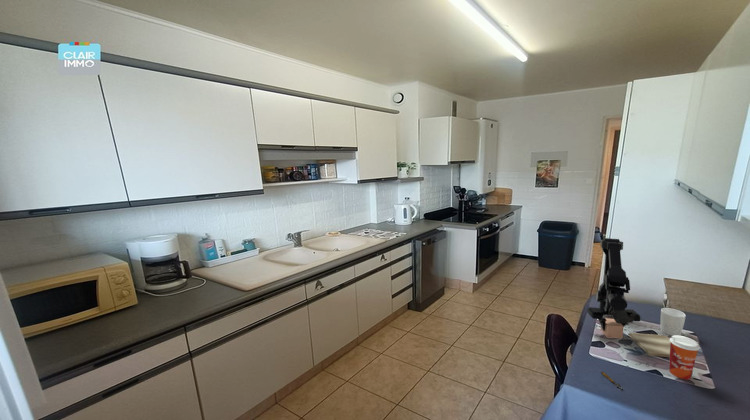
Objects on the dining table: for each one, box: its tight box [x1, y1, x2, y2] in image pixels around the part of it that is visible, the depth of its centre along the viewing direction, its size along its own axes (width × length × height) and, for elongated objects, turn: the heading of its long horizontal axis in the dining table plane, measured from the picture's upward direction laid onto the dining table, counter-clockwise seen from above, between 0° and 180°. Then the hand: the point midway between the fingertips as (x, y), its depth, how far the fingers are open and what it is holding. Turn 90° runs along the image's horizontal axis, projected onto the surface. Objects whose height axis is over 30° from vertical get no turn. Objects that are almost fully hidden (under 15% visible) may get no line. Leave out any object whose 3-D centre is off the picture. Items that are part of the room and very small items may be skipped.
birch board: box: [628, 332, 671, 358], centre depth 126 cm, size 14×14×1 cm
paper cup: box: [668, 335, 701, 380], centre depth 109 cm, size 8×8×14 cm
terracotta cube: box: [599, 317, 625, 339], centre depth 135 cm, size 6×6×6 cm
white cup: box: [659, 307, 686, 337], centre depth 134 cm, size 8×8×10 cm
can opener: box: [600, 371, 624, 391], centre depth 108 cm, size 9×2×1 cm, turn 0°
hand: (611, 330), depth 135 cm, fingers closed on terracotta cube, 6 cm apart
